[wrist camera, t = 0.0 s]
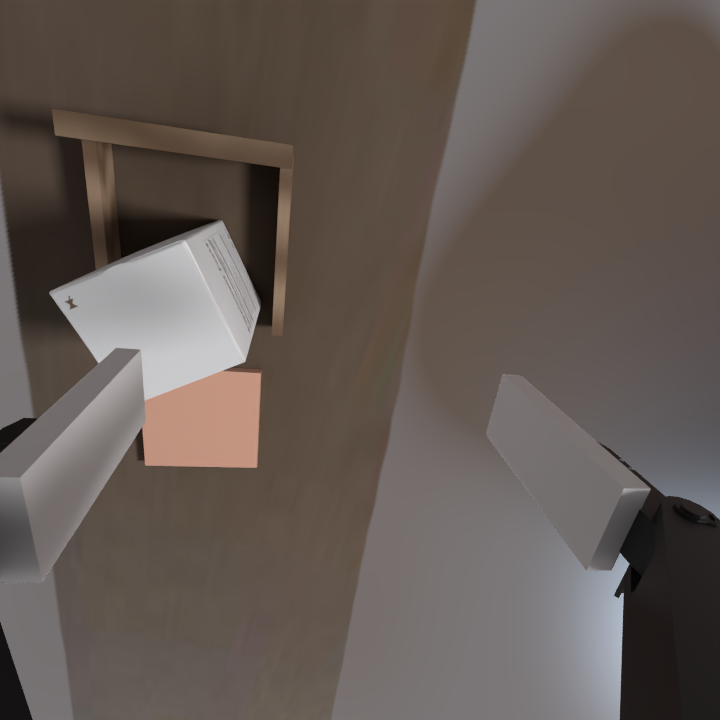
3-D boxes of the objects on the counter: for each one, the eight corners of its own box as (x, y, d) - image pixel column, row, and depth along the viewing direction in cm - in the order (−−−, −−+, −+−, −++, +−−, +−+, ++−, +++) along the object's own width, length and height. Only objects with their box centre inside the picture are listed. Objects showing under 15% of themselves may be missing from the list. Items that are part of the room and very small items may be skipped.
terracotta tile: (140, 362, 42) (137, 366, 42) (261, 369, 45) (260, 373, 44) (148, 459, 47) (145, 465, 46) (257, 462, 49) (256, 467, 48)
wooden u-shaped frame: (96, 121, 34) (51, 108, 28) (293, 151, 37) (293, 145, 31) (115, 313, 40) (81, 337, 34) (283, 326, 43) (280, 350, 37)
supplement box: (180, 337, 42) (124, 412, 28) (131, 252, 38) (39, 291, 25) (264, 305, 42) (248, 365, 28) (223, 217, 38) (182, 236, 25)
